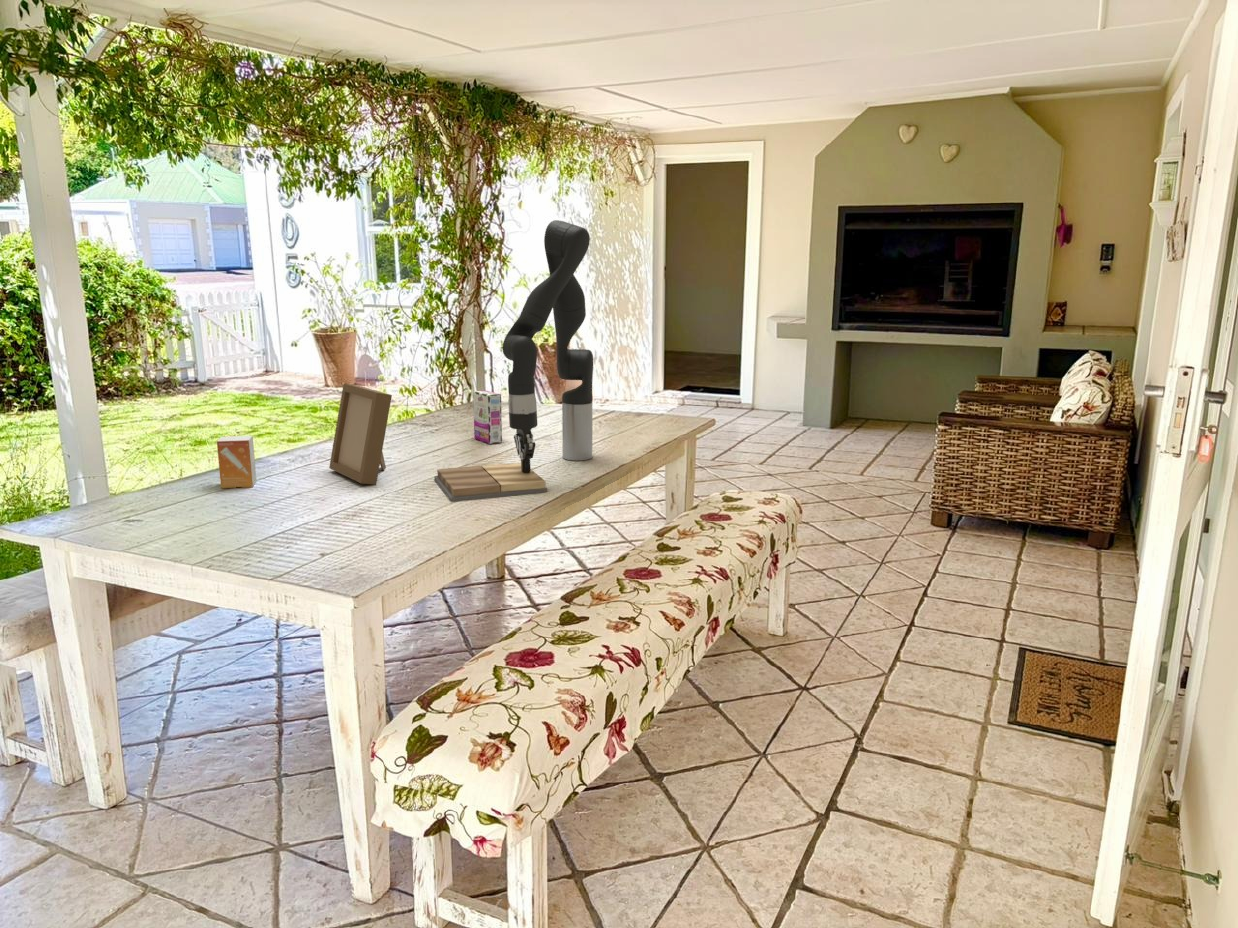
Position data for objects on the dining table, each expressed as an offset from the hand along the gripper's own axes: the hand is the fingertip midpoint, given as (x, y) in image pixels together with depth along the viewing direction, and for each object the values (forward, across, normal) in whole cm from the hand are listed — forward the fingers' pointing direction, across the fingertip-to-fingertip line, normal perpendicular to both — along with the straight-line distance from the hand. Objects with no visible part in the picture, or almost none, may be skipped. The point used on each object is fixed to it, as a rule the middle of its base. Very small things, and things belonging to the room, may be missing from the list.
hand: (526, 472), depth 238 cm
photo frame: (+2, -24, -39) cm, 45 cm away
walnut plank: (+2, 0, -16) cm, 16 cm away
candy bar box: (+3, -56, +4) cm, 56 cm away
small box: (0, -25, -73) cm, 77 cm away
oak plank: (+2, 0, -4) cm, 4 cm away
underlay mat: (+3, 0, -10) cm, 10 cm away
